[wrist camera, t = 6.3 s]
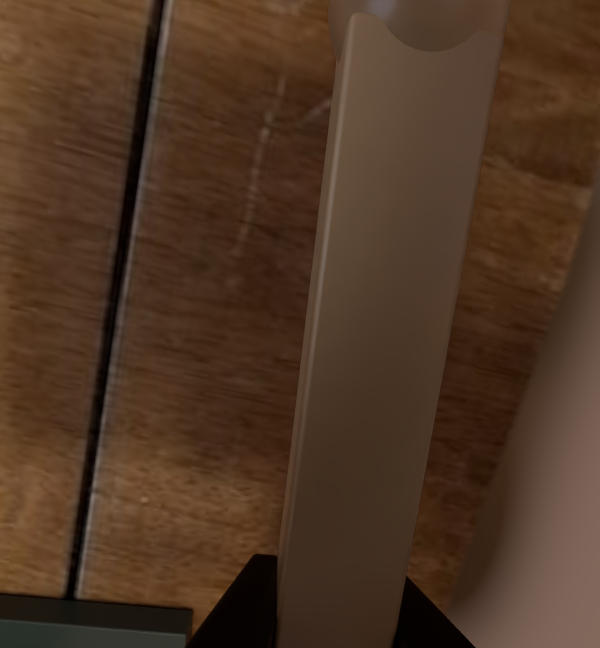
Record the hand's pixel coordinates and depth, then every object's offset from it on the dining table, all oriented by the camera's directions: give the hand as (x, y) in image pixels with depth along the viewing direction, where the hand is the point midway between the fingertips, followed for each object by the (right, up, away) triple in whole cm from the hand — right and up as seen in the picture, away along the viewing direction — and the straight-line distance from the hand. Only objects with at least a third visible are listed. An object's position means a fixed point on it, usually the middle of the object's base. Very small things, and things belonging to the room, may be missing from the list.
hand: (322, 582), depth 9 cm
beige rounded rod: (0, 0, 0) cm, 0 cm away
